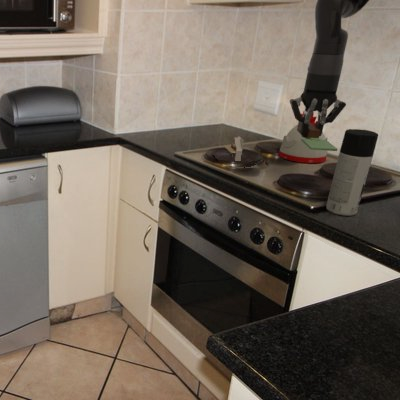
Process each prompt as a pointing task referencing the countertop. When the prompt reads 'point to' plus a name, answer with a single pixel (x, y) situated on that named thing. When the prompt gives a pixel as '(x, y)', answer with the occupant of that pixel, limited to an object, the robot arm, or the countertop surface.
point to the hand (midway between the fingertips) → (309, 136)
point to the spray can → (351, 171)
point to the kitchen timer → (301, 147)
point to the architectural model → (238, 151)
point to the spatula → (315, 139)
